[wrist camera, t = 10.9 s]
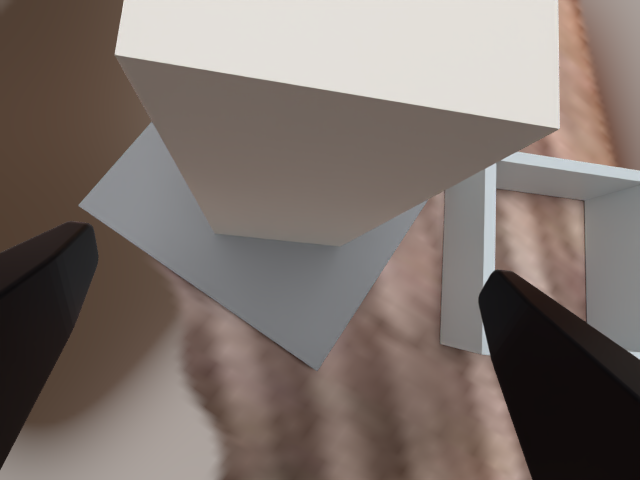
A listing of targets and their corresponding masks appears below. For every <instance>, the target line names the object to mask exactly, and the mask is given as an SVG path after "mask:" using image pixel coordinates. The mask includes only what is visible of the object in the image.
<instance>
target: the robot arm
mask: <svg viewBox="0 0 640 480" xmlns="http://www.w3.org/2000/svg"><path fill="white" fill-rule="evenodd" d="M97 264H98V250H97V245H96V239H95V233H94V229H93V227H92V225H90V224H89V223H82V222H74V221H69V222H66V223H64V224H62V225H59V226H57V227H55V228H53V229H51V230H49V231H47V232H44V233H42V234H40V235H38V236H36V237H33V238H31V239H29V240H27V241H25V242H23V243H20V244H18V245H16V246H14V247H12V248H10V249H7V250H5V251H3V252H1V253H0V469H1V468H2V466H3V464H4V462H5V460H6V458H7V456H8V454H9V452H10V450H11V448H12V446H13V444H14V443H15V441H16V439H17V437H18V435H19V433H20V431H21V429H22V427H23V425H24V423H25V421H26V419H27V417H28V415H29V413H30V412H31V410H32V408H33V406H34V404H35V402H36V400H37V398H38V396H39V394H40V393H41V391H42V389H43V387H44V385H45V383H46V381H47V379H48V377H49V375H50V373H51V371H52V369H53V368H54V366H55V364H56V362H57V360H58V358H59V356H60V354H61V352H62V350H63V348H64V346H65V344H66V342H67V341H68V338H69V337H70V334H71V332H72V330H73V328H74V326H75V323H76V321H77V318H78V316H79V313H80V310H81V308H82V305H83V302H84V299H85V297H86V294H87V292H88V289H89V286H90V283H91V281H92V278H93V275H94V273H95V270H96V267H97ZM478 304H479V309H480V313H481V318H482V322H483V326H484V331H485V335H486V340H487V344H488V348H489V352H490V356H491V360H492V363H493V366H494V369H495V372H496V375H497V378H498V381H499V384H500V387H501V390H502V393H503V396H504V399H505V401H506V404H507V407H508V410H509V413H510V416H511V419H512V422H513V425H514V428H515V431H516V433H517V436H518V439H519V442H520V445H521V448H522V451H523V454H524V457H525V460H526V463H527V466H528V468H529V471H530V474H531V477H532V480H640V359H638V358H637V357H635V356H634V355H633V354H631V353H630V352H628V351H627V350H625V349H624V348H622V347H621V346H620V345H618V344H617V343H615V342H614V341H612V340H611V339H609V338H608V337H607V336H605V335H604V334H602V333H601V332H599V331H598V330H596V329H595V328H594V327H592V326H591V325H589V324H588V323H586V322H585V321H583V320H582V319H581V318H579V317H578V316H576V315H575V314H573V313H572V312H570V311H569V310H568V309H566V308H565V307H563V306H562V305H560V304H559V303H557V302H556V301H554V300H553V299H552V298H550V297H549V296H547V295H546V294H544V293H543V292H541V291H540V290H539V289H537V288H536V287H534V286H533V285H531V284H530V283H528V282H527V281H526V280H524V279H523V278H521V277H520V276H518V275H517V274H515V273H514V272H512V271H506V270H495V271H493V272H492V273H491V274H490V276H489V278H488V280H487V281H486V283H485V285H484V287H483V288H482V290H481V292H480V294H479V297H478Z"/></svg>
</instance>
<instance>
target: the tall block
mask: <svg viewBox="0 0 640 480" xmlns="http://www.w3.org/2000/svg"><path fill="white" fill-rule="evenodd" d="M115 56H116V58H117V60H118V62H119V63H120V65H121V67H122V69H123V71H124V72H125V74H126V76H127V78H128V79H129V81H130V83H131V85H132V86H133V88H134V90H135V92H136V94H137V96H138V97H139V99H140V101H141V103H142V105H143V106H144V108H145V110H146V112H147V113H148V115H149V117H150V119H151V121H152V122H153V124H154V126H155V128H156V130H157V131H158V133H159V135H160V137H161V138H162V140H163V142H164V144H165V146H166V147H167V149H168V151H169V153H170V155H171V156H172V158H173V160H174V162H175V164H176V165H177V167H178V169H179V171H180V172H181V174H182V176H183V178H184V180H185V181H186V183H187V185H188V187H189V189H190V190H191V192H192V194H193V196H194V197H195V199H196V201H197V203H198V205H199V206H200V208H201V210H202V212H203V214H204V215H205V217H206V219H207V221H208V223H209V224H210V226H211V228H212V230H213V231H214V233H215V234H223V235H233V236H242V237H252V238H262V239H271V240H281V241H291V242H300V243H310V244H320V245H330V246H339V247H340V246H342V245H344V244H346V243H348V242H350V241H352V240H353V239H355V238H357V237H359V236H361V235H363V234H365V233H366V232H368V231H370V230H372V229H374V228H376V227H378V226H380V225H381V224H383V223H385V222H387V221H389V220H391V219H393V218H394V217H396V216H398V215H400V214H402V213H404V212H406V211H407V210H409V209H411V208H413V207H415V206H417V205H419V204H421V203H422V202H424V201H426V200H428V199H430V198H432V197H434V196H435V195H437V194H439V193H441V192H443V191H445V190H447V189H448V188H450V187H452V186H454V185H456V184H458V183H460V182H462V181H463V180H465V179H467V178H469V177H471V176H473V175H475V174H476V173H478V172H480V171H482V170H484V169H486V168H488V167H489V166H491V165H493V164H495V163H497V162H499V161H501V160H503V159H504V158H506V157H508V156H510V155H512V154H514V153H516V152H517V151H519V150H521V149H523V148H525V147H527V146H529V145H530V144H532V143H534V142H536V141H538V140H540V139H542V138H544V137H545V136H547V135H549V134H551V133H553V132H555V131H557V130H558V129H560V114H559V30H558V0H124V3H123V9H122V15H121V21H120V27H119V33H118V39H117V44H116V51H115Z"/></svg>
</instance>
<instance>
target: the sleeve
mask: <svg viewBox="0 0 640 480" xmlns="http://www.w3.org/2000/svg"><path fill="white" fill-rule="evenodd" d="M496 188H497V189H504V190H511V191H519V192H526V193H533V194H540V195H548V196H555V197H562V198H570V199H577V200H584V202H585V252H586V302H587V323H588V324H589V325H591V326H592V327H594V328H595V329H596V330H598V331H599V332H601V333H602V334H604V335H605V336H607V337H608V338H609V339H611V340H612V341H614V342H615V343H617V344H618V345H620V346H621V347H622V348H624V349H625V350H627V351H628V352H630V353H631V354H633V355H634V356H635V357H637V358H638V359H640V171H638V170H631V169H625V168H619V167H612V166H606V165H599V164H593V163H586V162H580V161H573V160H567V159H561V158H554V157H548V156H541V155H535V154H528V153H522V152H516V153H514V154H512V155H510V156H508V157H506V158H504V159H503V160H501V161H499V162H497V163H495V164H493V165H491V166H489V167H488V168H486V169H484V170H482V171H480V172H478V173H476V174H475V175H473V176H471V177H469V178H467V179H465V180H463V181H462V182H460V183H458V184H456V185H454V186H452V187H450V188H448V189H447V190H445V212H444V241H443V270H442V300H441V329H440V344H442V345H446V346H450V347H454V348H458V349H462V350H466V351H470V352H474V353H478V354H482V355H490V352H489V348H488V344H487V340H486V335H485V331H484V326H483V322H482V318H481V313H480V309H479V304H478V297H479V294H480V292H481V290H482V288H483V287H484V285H485V283H486V281H487V280H488V278H489V276H490V274H491V273H492V272H493V271H495V224H496Z"/></svg>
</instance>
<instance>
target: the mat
mask: <svg viewBox="0 0 640 480" xmlns="http://www.w3.org/2000/svg"><path fill="white" fill-rule="evenodd" d="M426 202H427V200H426V201H424V202H422V203H421V204H419V205H417V206H415V207H413V208H411V209H409V210H407V211H406V212H404V213H402V214H400V215H398V216H396V217H394V218H393V219H391V220H389V221H387V222H385V223H383V224H381V225H380V226H378V227H376V228H374V229H372V230H370V231H368V232H366V233H365V234H363V235H361V236H359V237H357V238H355V239H353V240H352V241H350V242H348V243H346V244H344V245H342V246H340V247H339V246H330V245H320V244H310V243H300V242H291V241H281V240H271V239H262V238H252V237H242V236H233V235H223V234H215V233H214V231H213V230H212V228H211V226H210V224H209V223H208V221H207V219H206V217H205V215H204V214H203V212H202V210H201V208H200V206H199V205H198V203H197V201H196V199H195V197H194V196H193V194H192V192H191V190H190V189H189V187H188V185H187V183H186V181H185V180H184V178H183V176H182V174H181V172H180V171H179V169H178V167H177V165H176V164H175V162H174V160H173V158H172V156H171V155H170V153H169V151H168V149H167V147H166V146H165V144H164V142H163V140H162V138H161V137H160V135H159V133H158V131H157V130H156V128H155V126H154V124H153V122H151V123H150V124H149V126H148V127H147V128H146V129H145V130H144V131H143V132H142V133H141V135H140V136H139V137H138V138H137V139H136V140H135V142H134V143H133V144H132V145H131V146H130V147H129V148H128V149H127V151H126V152H125V153H124V154H123V155H122V156H121V157H120V159H119V160H118V161H117V162H116V163H115V164H114V165H113V167H112V168H111V169H110V170H109V171H108V172H107V173H106V174H105V176H104V177H103V178H102V179H101V180H100V181H99V183H98V184H97V185H96V186H95V187H94V188H93V189H92V190H91V192H90V193H89V194H88V195H87V196H86V197H85V199H84V200H83V201H82V202H81V203H80V204H79V206H80V207H81V208H83V209H84V210H86V211H87V212H88V213H90V214H91V215H93V216H94V217H96V218H97V219H99V220H100V221H101V222H103V223H104V224H106V225H107V226H109V227H110V228H111V229H113V230H114V231H116V232H117V233H119V234H120V235H122V236H123V237H124V238H126V239H127V240H129V241H130V242H132V243H133V244H134V245H136V246H137V247H139V248H140V249H142V250H143V251H145V252H146V253H147V254H149V255H150V256H152V257H153V258H155V259H156V260H158V261H159V262H160V263H162V264H163V265H165V266H166V267H168V268H169V269H170V270H172V271H173V272H175V273H176V274H178V275H179V276H181V277H182V278H183V279H185V280H186V281H188V282H189V283H191V284H192V285H194V286H195V287H196V288H198V289H199V290H201V291H202V292H204V293H205V294H207V295H208V296H209V297H211V298H212V299H214V300H215V301H217V302H218V303H219V304H221V305H222V306H224V307H225V308H227V309H228V310H230V311H231V312H232V313H234V314H235V315H237V316H238V317H240V318H241V319H243V320H244V321H245V322H247V323H248V324H250V325H251V326H253V327H254V328H256V329H257V330H258V331H260V332H261V333H263V334H264V335H266V336H267V337H268V338H270V339H271V340H273V341H274V342H276V343H277V344H279V345H280V346H281V347H283V348H284V349H286V350H287V351H289V352H290V353H292V354H293V355H294V356H296V357H297V358H299V359H300V360H302V361H303V362H305V363H306V364H307V365H309V366H310V367H312V368H313V369H315V370H316V371H318V369H319V368H320V366H321V365H322V363H323V362H324V360H325V358H326V357H327V355H328V354H329V352H330V351H331V349H332V348H333V346H334V344H335V343H336V341H337V340H338V338H339V337H340V335H341V334H342V332H343V331H344V329H345V327H346V326H347V324H348V323H349V321H350V320H351V318H352V317H353V315H354V314H355V312H356V310H357V309H358V307H359V306H360V304H361V303H362V301H363V300H364V298H365V296H366V295H367V293H368V292H369V290H370V289H371V287H372V286H373V284H374V283H375V281H376V279H377V278H378V276H379V275H380V273H381V272H382V270H383V269H384V267H385V265H386V264H387V262H388V261H389V259H390V258H391V256H392V255H393V253H394V252H395V250H396V248H397V247H398V245H399V244H400V242H401V241H402V239H403V238H404V236H405V235H406V233H407V231H408V230H409V228H410V227H411V225H412V224H413V222H414V221H415V219H416V217H417V216H418V214H419V213H420V211H421V210H422V208H423V207H424V205H425V204H426Z"/></svg>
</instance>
